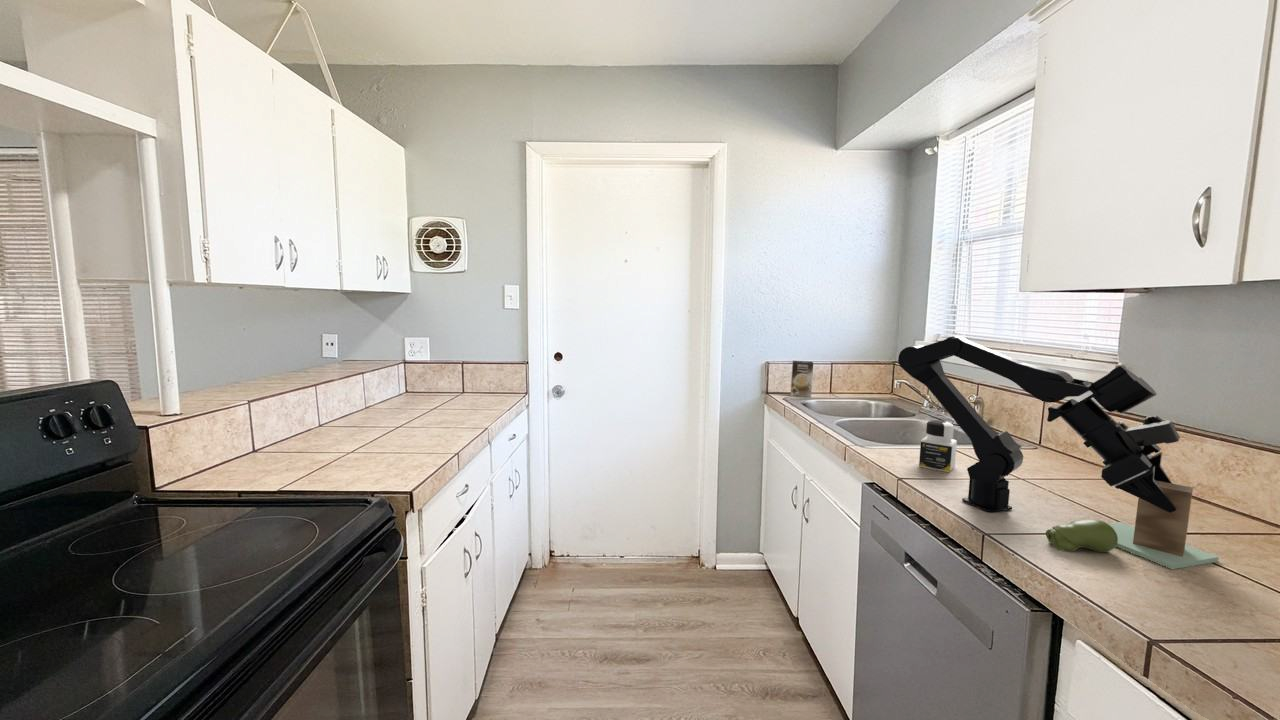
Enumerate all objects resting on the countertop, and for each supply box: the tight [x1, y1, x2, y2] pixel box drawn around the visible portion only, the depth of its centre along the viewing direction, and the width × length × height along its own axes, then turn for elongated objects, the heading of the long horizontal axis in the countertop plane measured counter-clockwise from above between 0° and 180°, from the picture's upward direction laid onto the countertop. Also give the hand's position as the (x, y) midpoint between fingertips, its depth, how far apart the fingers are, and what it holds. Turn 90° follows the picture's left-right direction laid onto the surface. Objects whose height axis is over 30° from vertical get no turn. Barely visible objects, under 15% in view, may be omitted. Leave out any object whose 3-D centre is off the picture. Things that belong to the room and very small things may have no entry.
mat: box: [1108, 521, 1220, 570], centre depth 90 cm, size 14×11×1 cm
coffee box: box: [790, 360, 814, 399], centre depth 233 cm, size 9×6×16 cm
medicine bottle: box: [918, 419, 958, 473], centre depth 132 cm, size 7×7×12 cm
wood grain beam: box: [1133, 480, 1194, 557], centre depth 87 cm, size 6×4×11 cm, turn 40°
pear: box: [1045, 518, 1118, 553], centre depth 88 cm, size 6×5×10 cm
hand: (1175, 504), depth 86 cm, fingers open, 9 cm apart
